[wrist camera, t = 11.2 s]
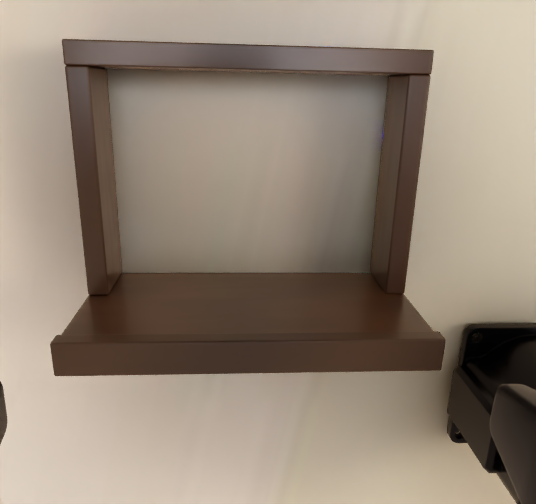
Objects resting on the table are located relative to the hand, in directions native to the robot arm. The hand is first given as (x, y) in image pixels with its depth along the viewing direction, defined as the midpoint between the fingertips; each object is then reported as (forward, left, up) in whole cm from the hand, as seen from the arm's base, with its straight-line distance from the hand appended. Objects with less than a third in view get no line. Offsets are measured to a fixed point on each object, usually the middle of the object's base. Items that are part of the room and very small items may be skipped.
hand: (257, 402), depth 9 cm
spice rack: (0, -2, -13) cm, 13 cm away
